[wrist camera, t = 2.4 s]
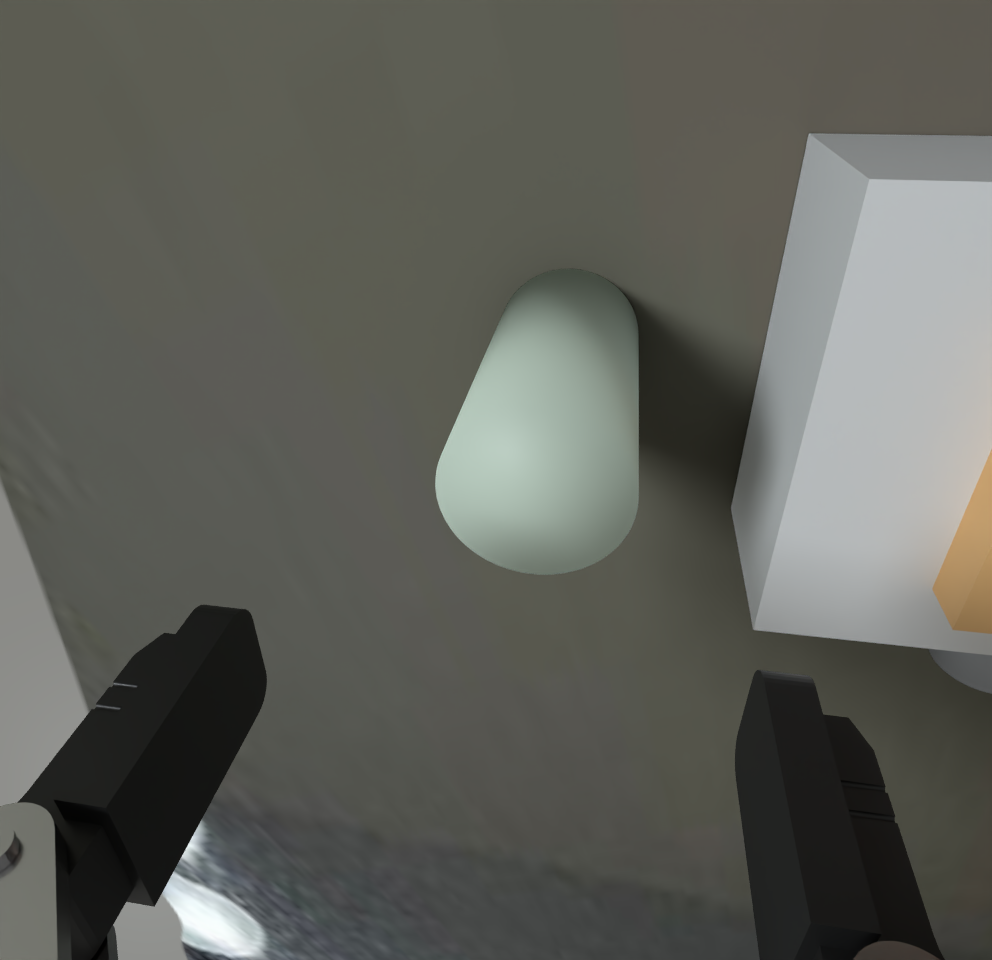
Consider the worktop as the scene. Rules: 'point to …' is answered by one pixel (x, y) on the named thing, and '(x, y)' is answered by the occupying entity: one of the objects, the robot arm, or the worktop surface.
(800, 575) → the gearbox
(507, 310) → the pale green rounded piece
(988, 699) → the worktop surface
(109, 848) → the robot arm
